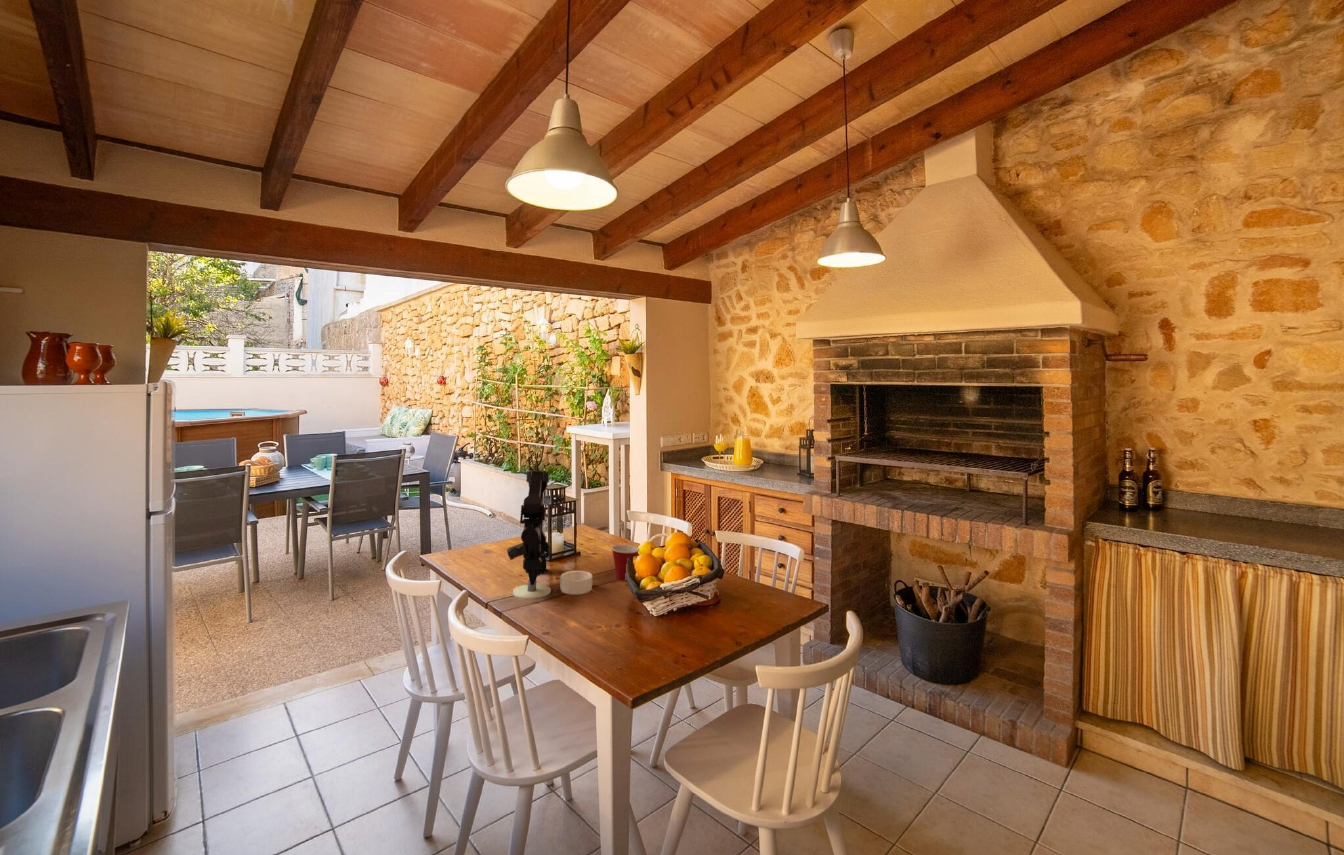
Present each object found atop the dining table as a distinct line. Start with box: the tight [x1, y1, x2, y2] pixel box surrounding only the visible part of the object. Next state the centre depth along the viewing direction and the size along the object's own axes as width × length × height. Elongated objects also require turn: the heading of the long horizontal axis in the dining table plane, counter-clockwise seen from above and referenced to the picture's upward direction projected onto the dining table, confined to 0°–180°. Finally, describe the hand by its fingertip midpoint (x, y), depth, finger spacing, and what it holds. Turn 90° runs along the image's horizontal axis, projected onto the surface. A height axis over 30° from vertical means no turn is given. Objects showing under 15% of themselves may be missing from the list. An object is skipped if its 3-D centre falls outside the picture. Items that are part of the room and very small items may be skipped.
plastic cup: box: [611, 544, 640, 582], centre depth 227 cm, size 11×11×12 cm
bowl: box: [559, 570, 593, 596], centre depth 213 cm, size 11×11×5 cm
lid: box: [512, 579, 552, 600], centre depth 210 cm, size 13×13×4 cm
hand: (532, 580), depth 210 cm, fingers open, 9 cm apart
